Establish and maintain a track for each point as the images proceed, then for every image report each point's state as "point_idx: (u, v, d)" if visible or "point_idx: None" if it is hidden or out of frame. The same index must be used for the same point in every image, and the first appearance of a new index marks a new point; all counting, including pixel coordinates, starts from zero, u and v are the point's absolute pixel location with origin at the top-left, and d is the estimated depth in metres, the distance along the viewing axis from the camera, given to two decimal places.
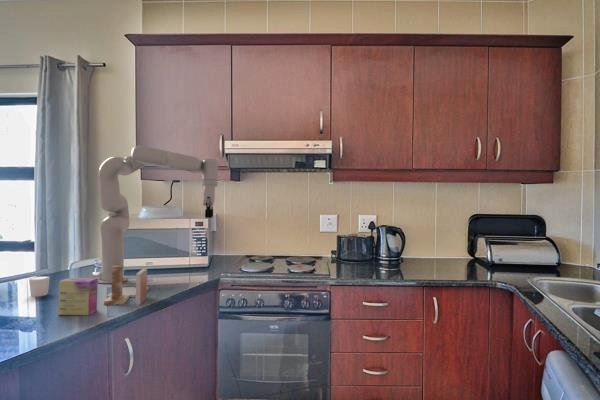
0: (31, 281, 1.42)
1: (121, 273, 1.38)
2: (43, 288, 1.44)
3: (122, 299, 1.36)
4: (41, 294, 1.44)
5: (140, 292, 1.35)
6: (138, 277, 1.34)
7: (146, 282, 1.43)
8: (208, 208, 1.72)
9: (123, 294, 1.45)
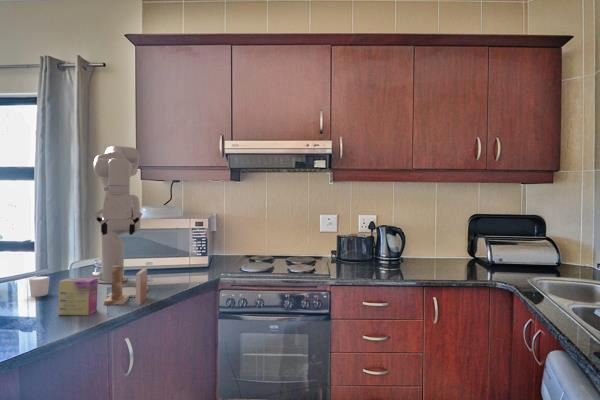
0: (31, 281, 1.42)
1: (121, 273, 1.38)
2: (43, 288, 1.44)
3: (122, 299, 1.36)
4: (41, 294, 1.44)
5: (140, 292, 1.35)
6: (138, 277, 1.34)
7: (146, 282, 1.43)
8: (136, 222, 1.39)
9: (123, 294, 1.45)
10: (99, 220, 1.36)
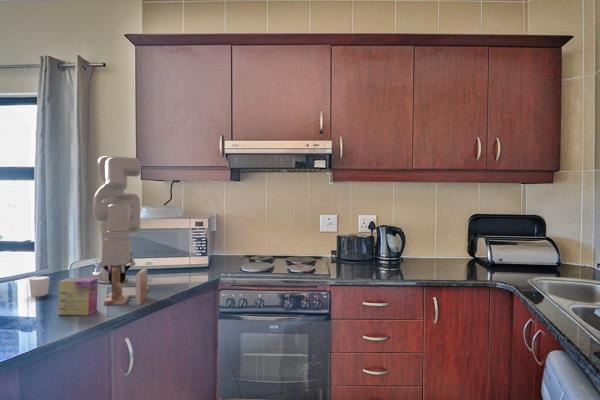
0: (31, 281, 1.42)
1: None
2: (43, 288, 1.44)
3: (122, 299, 1.36)
4: (41, 294, 1.44)
5: (140, 292, 1.35)
6: (138, 277, 1.34)
7: (146, 282, 1.43)
8: (126, 270, 1.38)
9: (123, 294, 1.45)
10: (106, 269, 1.36)
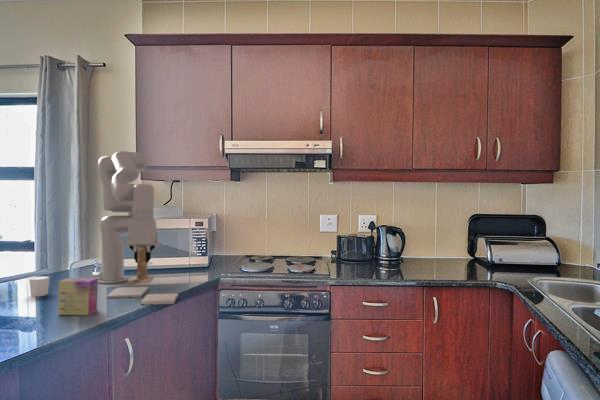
0: (31, 281, 1.42)
1: None
2: (43, 288, 1.44)
3: (147, 278, 1.38)
4: (41, 294, 1.44)
5: None
6: (169, 302, 1.37)
7: None
8: (151, 250, 1.40)
9: (123, 294, 1.45)
10: (132, 248, 1.38)
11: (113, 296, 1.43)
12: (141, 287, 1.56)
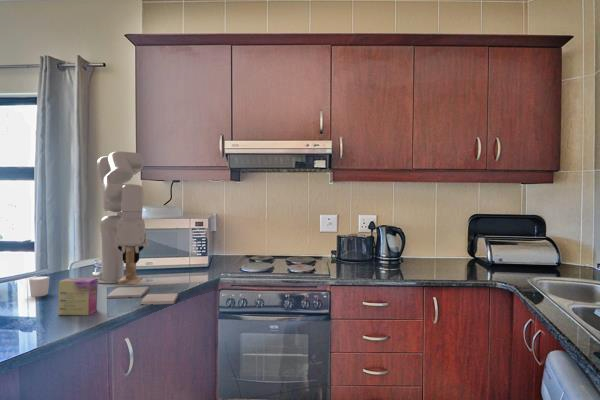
0: (31, 281, 1.42)
1: None
2: (43, 288, 1.44)
3: (136, 279, 1.37)
4: (41, 294, 1.44)
5: None
6: (169, 302, 1.37)
7: None
8: (140, 250, 1.39)
9: (123, 294, 1.45)
10: (120, 249, 1.37)
11: (113, 296, 1.43)
12: (141, 287, 1.56)
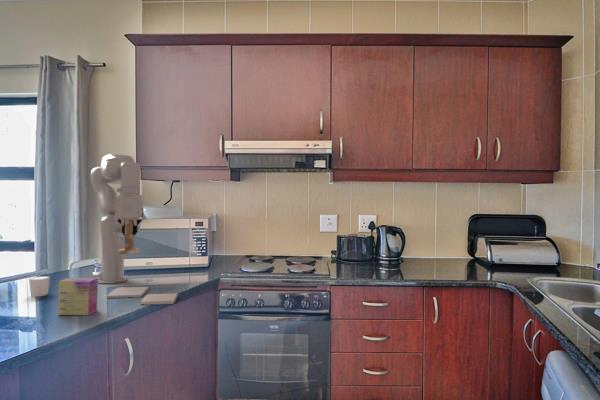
0: (31, 281, 1.42)
1: None
2: (43, 288, 1.44)
3: (134, 249, 1.48)
4: (41, 294, 1.44)
5: (153, 304, 1.36)
6: (169, 302, 1.37)
7: None
8: (138, 223, 1.50)
9: (123, 294, 1.45)
10: (120, 222, 1.48)
11: (113, 296, 1.43)
12: (141, 287, 1.56)
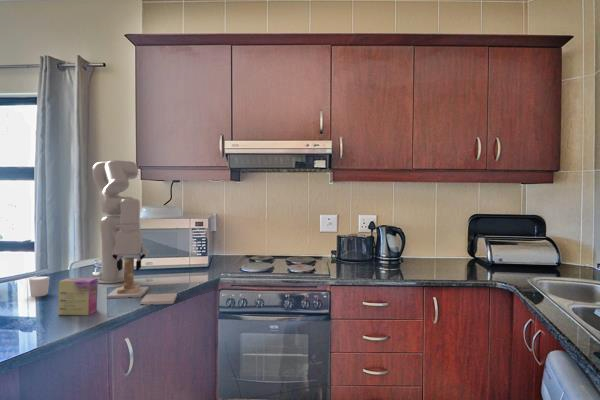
0: (31, 281, 1.42)
1: (132, 264, 1.50)
2: (43, 288, 1.44)
3: (134, 288, 1.48)
4: (41, 294, 1.44)
5: (153, 304, 1.36)
6: (169, 302, 1.37)
7: None
8: (142, 258, 1.51)
9: (123, 294, 1.45)
10: (115, 257, 1.48)
11: (113, 296, 1.43)
12: (141, 287, 1.56)
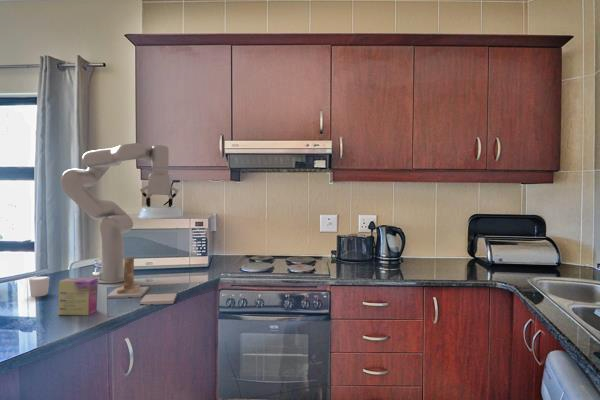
0: (31, 281, 1.42)
1: (132, 264, 1.50)
2: (43, 288, 1.44)
3: (134, 288, 1.48)
4: (41, 294, 1.44)
5: (153, 304, 1.36)
6: (169, 302, 1.37)
7: None
8: (173, 197, 1.71)
9: (123, 294, 1.45)
10: (144, 195, 1.68)
11: (113, 296, 1.43)
12: (141, 287, 1.56)
